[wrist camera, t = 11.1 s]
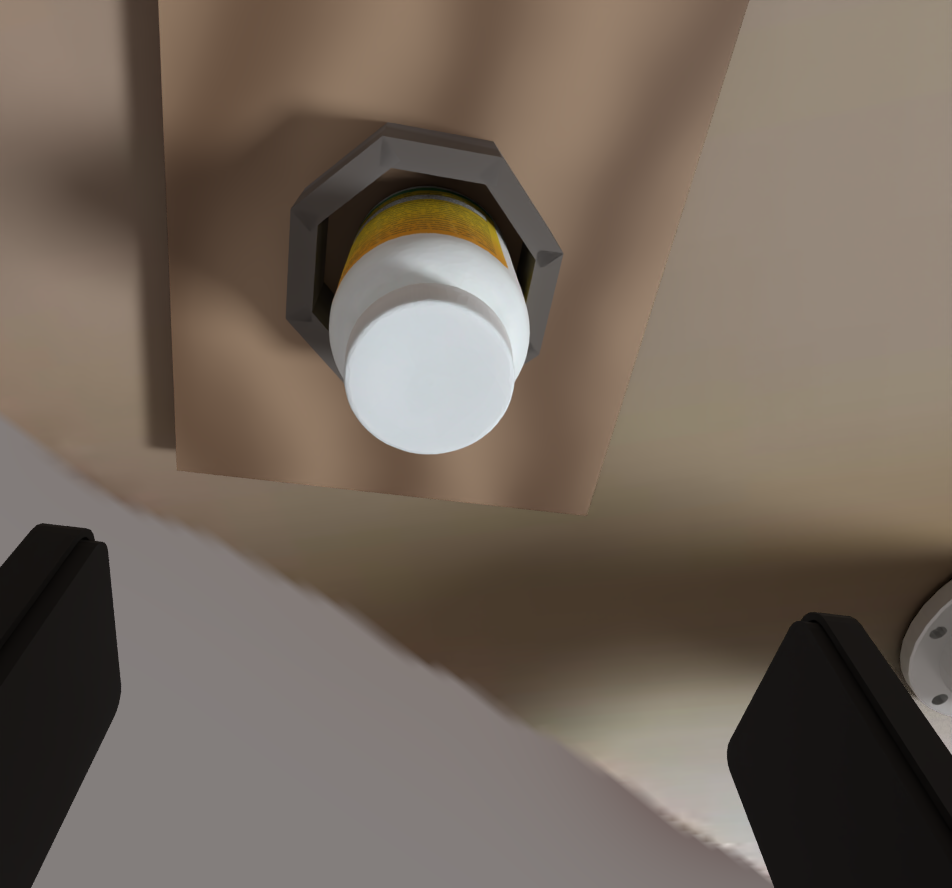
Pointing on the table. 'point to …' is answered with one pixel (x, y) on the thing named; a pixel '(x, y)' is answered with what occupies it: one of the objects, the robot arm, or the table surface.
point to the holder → (410, 165)
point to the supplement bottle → (429, 322)
